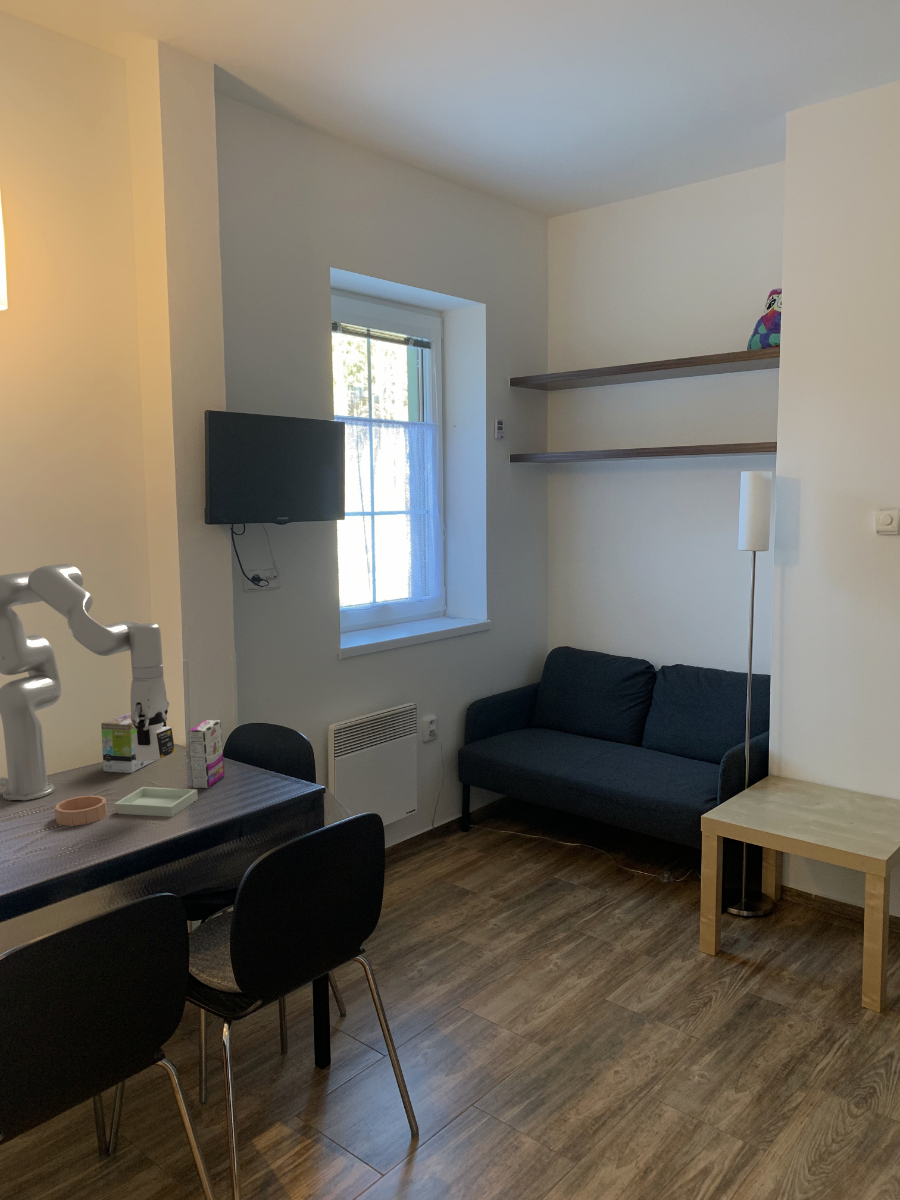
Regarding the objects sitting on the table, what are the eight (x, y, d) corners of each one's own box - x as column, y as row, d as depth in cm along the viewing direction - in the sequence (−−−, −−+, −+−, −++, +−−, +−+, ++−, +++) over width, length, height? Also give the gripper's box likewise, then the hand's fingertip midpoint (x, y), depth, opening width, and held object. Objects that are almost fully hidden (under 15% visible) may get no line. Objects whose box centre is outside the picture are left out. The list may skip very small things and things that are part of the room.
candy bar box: (208, 775, 258) (204, 719, 256) (225, 776, 257) (221, 719, 255) (191, 788, 247) (187, 730, 245) (208, 789, 246) (204, 730, 244)
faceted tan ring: (46, 824, 223) (45, 810, 222) (75, 807, 234) (74, 794, 233) (88, 826, 220) (87, 812, 220) (115, 810, 231) (114, 796, 231)
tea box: (133, 773, 262) (129, 723, 260) (102, 772, 264) (99, 722, 262) (161, 758, 276) (158, 711, 275) (132, 757, 279) (128, 710, 277)
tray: (114, 813, 229) (114, 803, 228) (143, 796, 241) (142, 786, 241) (172, 816, 225) (171, 806, 225) (197, 799, 238) (197, 789, 237)
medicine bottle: (161, 760, 227) (153, 712, 226) (135, 762, 229) (128, 715, 228) (175, 753, 234) (168, 707, 233) (151, 755, 235) (144, 710, 235)
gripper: (152, 665, 238) (157, 731, 240) (114, 679, 221) (120, 749, 224) (178, 665, 237) (183, 732, 239) (142, 679, 220) (147, 750, 222)
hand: (152, 740), depth 231 cm, fingers closed on medicine bottle, 7 cm apart
